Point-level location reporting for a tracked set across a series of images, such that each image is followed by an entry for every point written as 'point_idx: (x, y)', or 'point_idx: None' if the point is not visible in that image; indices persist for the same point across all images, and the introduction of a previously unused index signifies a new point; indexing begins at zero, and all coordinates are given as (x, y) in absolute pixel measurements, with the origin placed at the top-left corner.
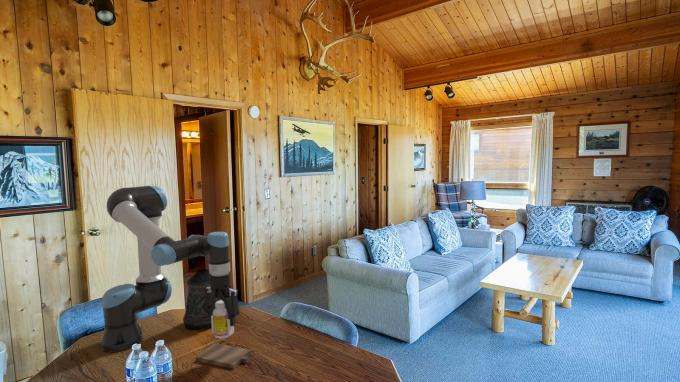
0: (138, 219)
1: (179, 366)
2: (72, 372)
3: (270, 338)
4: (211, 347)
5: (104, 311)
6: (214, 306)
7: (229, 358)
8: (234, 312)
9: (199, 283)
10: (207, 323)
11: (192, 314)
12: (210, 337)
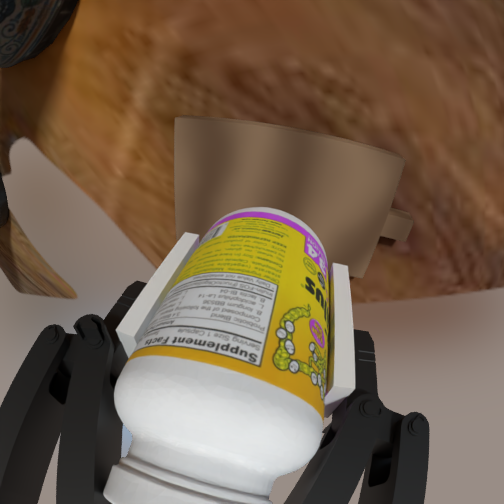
0: None
1: (158, 264)
2: (28, 285)
3: (434, 10)
4: (184, 159)
5: None
6: (114, 445)
7: (327, 239)
8: (384, 477)
9: None
10: (53, 16)
11: None
12: (114, 54)
